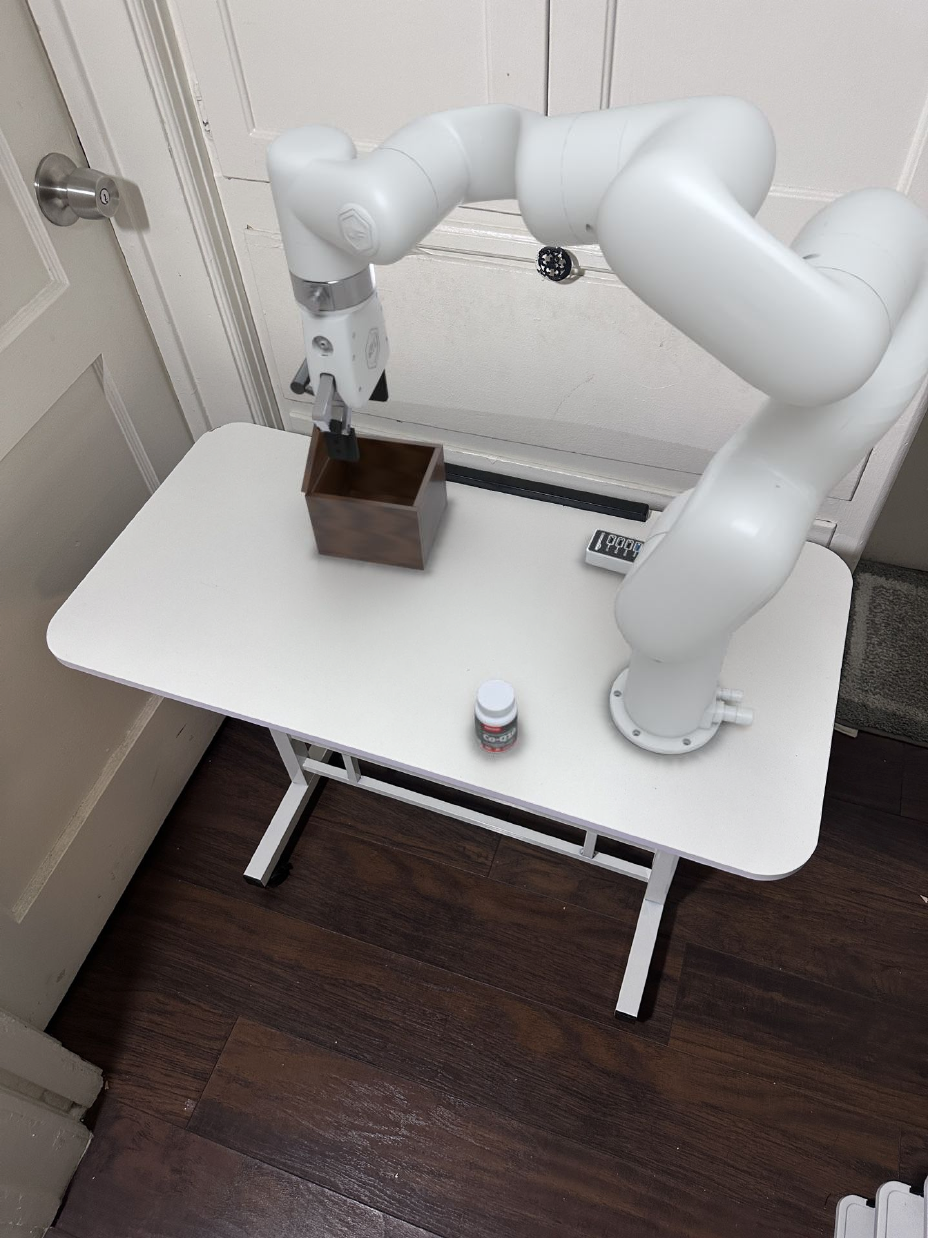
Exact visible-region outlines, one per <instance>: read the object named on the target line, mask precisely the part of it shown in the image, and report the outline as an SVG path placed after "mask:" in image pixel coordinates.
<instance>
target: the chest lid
mask: <svg viewBox="0 0 928 1238" xmlns="http://www.w3.org/2000/svg"><path fill="white" fill-rule="evenodd" d="M310 384H311V380H310V375H309V370H308V364H307V358H306V357H305V358H304V359H303V361H302V363H301V365H300V367H299V368H298V370H297V371H296V373H295V375H294V377H293V379H292V381H291V382H290V384H289V389H290V391H292V392H293V393H294V394H295V395H299V396H301V395H304V394H307V395H309V396H312V397H315V395H314V392H313V388H312V385H310ZM333 399H334V400H342V401H343V399H342V398H341V396H340V395H339V393H338V392H335V393H334V398H333ZM342 414H343V407H339V406H331V416H332V419H336V420H339V421H342ZM326 454H327V447H326V443H325V438H324V433H323V432H321V431H320V430H318V429H317V425H316V424H315V423H314V422H313V426H312V432H311V437H310V441H309V448H308V451H307V457H306V461H305V467H304V473H303V477H302V483H301V489H300V492H301V493H303V494H307V492H308V490H309V488H310V486H311V484H312V482H313V480H314V478H315V476H316V474H317V472H318V470H319V468H320V466H321V464H322V462H323V460H324V458H325V456H326Z"/></svg>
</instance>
